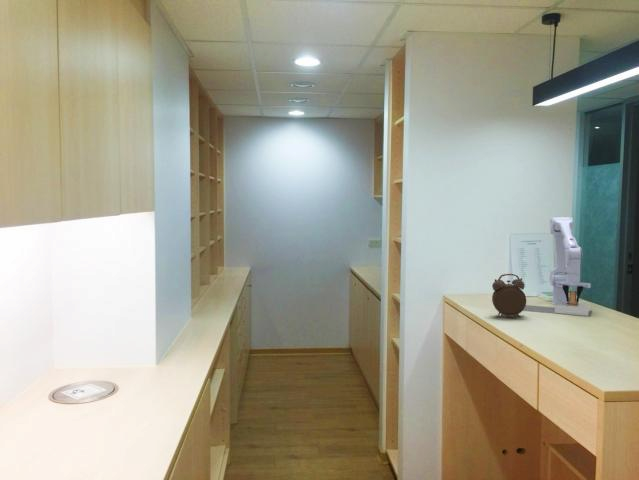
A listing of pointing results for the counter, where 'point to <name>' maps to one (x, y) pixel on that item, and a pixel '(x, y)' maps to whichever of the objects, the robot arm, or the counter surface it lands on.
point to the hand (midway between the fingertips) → (572, 301)
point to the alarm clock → (509, 296)
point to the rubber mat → (546, 310)
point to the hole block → (572, 308)
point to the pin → (572, 297)
